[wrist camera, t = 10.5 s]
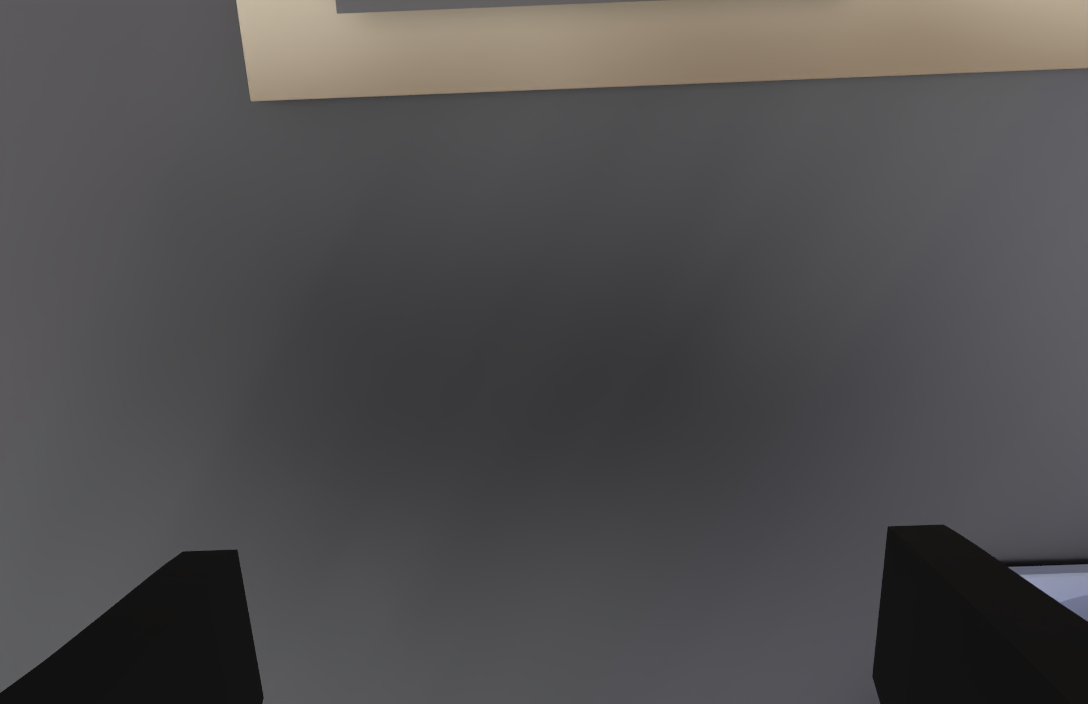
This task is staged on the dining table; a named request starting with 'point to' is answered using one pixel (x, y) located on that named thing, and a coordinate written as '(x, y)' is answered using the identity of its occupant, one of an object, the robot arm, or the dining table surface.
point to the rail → (637, 42)
